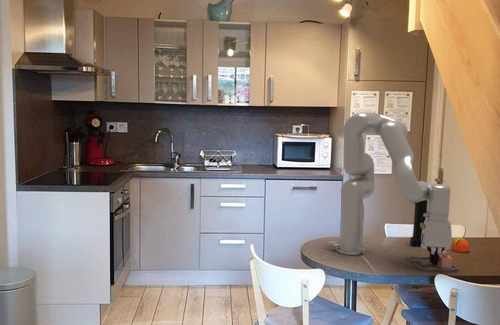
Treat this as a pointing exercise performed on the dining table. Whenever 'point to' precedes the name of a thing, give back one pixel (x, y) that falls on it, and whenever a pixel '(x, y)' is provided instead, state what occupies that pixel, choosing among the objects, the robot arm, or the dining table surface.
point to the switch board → (429, 264)
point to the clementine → (460, 245)
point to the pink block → (445, 261)
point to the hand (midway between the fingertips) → (433, 263)
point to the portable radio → (418, 223)
